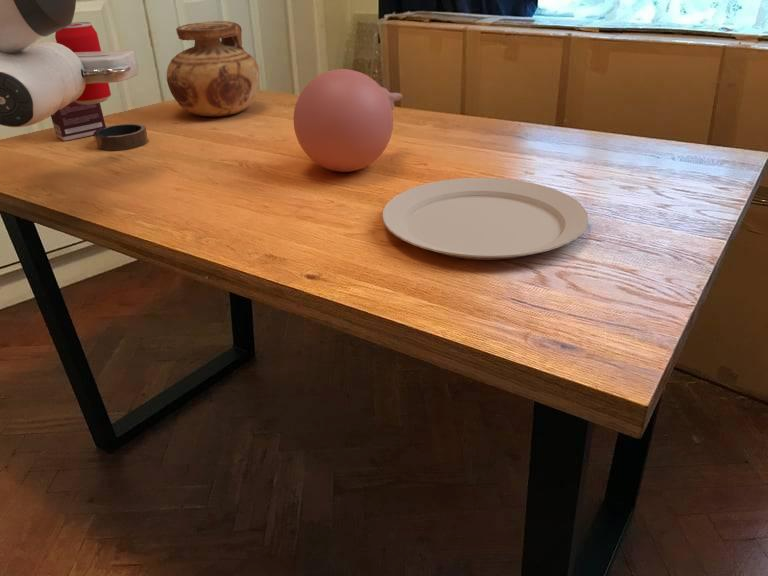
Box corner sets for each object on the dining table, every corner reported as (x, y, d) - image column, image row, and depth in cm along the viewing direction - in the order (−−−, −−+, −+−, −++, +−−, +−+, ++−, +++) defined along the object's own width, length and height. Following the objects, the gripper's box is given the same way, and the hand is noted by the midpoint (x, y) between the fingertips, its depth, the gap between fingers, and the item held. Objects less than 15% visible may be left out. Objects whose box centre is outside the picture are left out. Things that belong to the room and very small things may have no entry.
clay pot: (227, 113, 128) (181, 10, 123) (172, 139, 140) (128, 45, 134) (288, 92, 142) (249, -2, 137) (233, 117, 154) (196, 31, 148)
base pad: (96, 153, 118) (92, 139, 117) (97, 140, 126) (93, 127, 125) (149, 146, 121) (146, 133, 120) (147, 134, 129) (144, 121, 127)
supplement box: (99, 128, 134) (79, 45, 126) (107, 132, 130) (87, 48, 123) (55, 137, 129) (31, 52, 121) (62, 142, 126) (38, 54, 118)
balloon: (435, 163, 107) (436, 64, 100) (334, 193, 96) (326, 85, 89) (377, 143, 118) (373, 53, 110) (280, 168, 107) (269, 71, 100)
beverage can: (95, 95, 113) (78, 20, 107) (120, 99, 110) (103, 22, 104) (63, 103, 108) (43, 25, 103) (88, 107, 106) (68, 27, 100)
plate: (626, 223, 83) (628, 208, 83) (500, 295, 68) (501, 278, 67) (470, 178, 100) (471, 165, 99) (341, 228, 85) (340, 214, 84)
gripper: (119, 49, 94) (144, 35, 106) (-28, 55, 93) (15, 40, 105) (128, 94, 97) (152, 76, 109) (-14, 100, 96) (26, 81, 108)
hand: (83, 58), depth 107 cm, fingers closed on beverage can, 6 cm apart
